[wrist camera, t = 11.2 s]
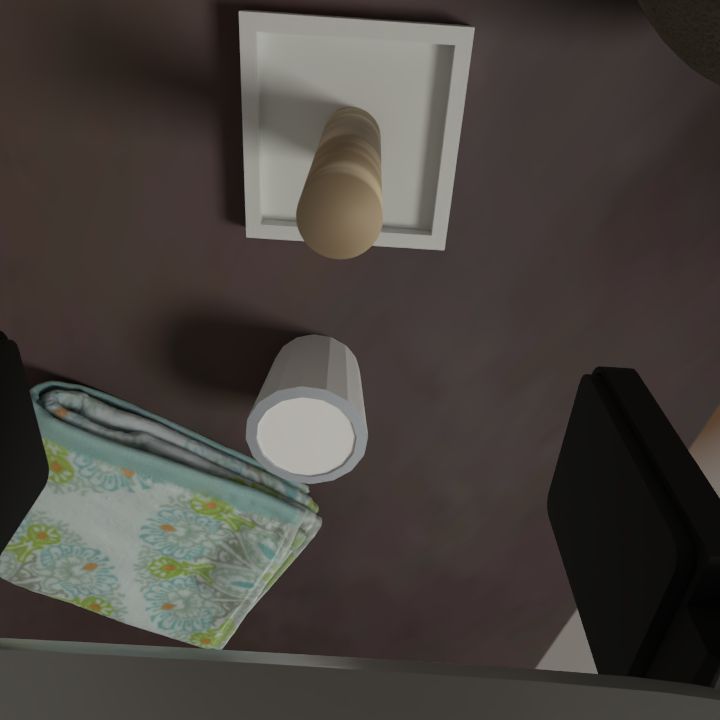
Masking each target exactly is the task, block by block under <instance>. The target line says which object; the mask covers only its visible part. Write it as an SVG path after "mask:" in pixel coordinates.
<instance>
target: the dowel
mask: <svg viewBox="0 0 720 720" xmlns="http://www.w3.org/2000/svg"><path fill="white" fill-rule="evenodd" d="M296 222H297V227H298V230H299V233H300V235H301V237H302V238H303V240H304V241H305V243H306V244H307V245H308V246H309V247H310V248H311V249H312V250H314V251H315V252H317V253H319V254H320V255H323V256H325V257H328V258H332V259H349V258H353V257H356V256H358V255H360V254H362V253H364V252H365V251H367V250H368V249H369V248H370V247H371V246H372V245H373V244H374V242H375V241H376V240H377V238H378V236H379V234H380V231H381V228H382V222H383V211H382V174H381V136H380V130H379V126H378V124H377V122H376V120H375V119H374V118H373V117H372V116H371V115H370V114H369V113H368V112H366V111H365V110H363V109H360V108H356V107H347V108H343V109H340V110H338V111H337V112H335V113H334V114H333V115H332V116H331V117H330V118H329V119H328V121H327V123H326V125H325V127H324V130H323V133H322V136H321V139H320V142H319V145H318V147H317V150H316V153H315V156H314V159H313V162H312V165H311V168H310V171H309V173H308V176H307V179H306V182H305V185H304V188H303V191H302V194H301V196H300V199H299V202H298V205H297V210H296Z"/></svg>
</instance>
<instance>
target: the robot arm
mask: <svg viewBox="0 0 720 720" xmlns="http://www.w3.org/2000/svg"><path fill="white" fill-rule="evenodd" d="M48 476H49V464H48V460H47V456H46V452H45V449H44V445H43V441H42V437H41V433H40V429H39V426H38V422H37V418H36V414H35V410H34V406H33V402H32V399H31V395H30V391H29V387H28V383H27V379H26V376H25V372H24V368H23V364H22V360H21V356H20V353H19V349H18V346H17V344H16V343H15V342H14V341H13V340H8V338H7V336H6V335H5V334H4V333H3V332H2V331H0V555H1V554H2V552H3V551H4V549H5V548H6V546H7V544H8V543H9V541H10V540H11V538H12V537H13V535H14V534H15V532H16V531H17V529H18V528H19V526H20V524H21V523H22V521H23V520H24V518H25V517H26V515H27V514H28V512H29V511H30V509H31V508H32V506H33V505H34V503H35V501H36V500H37V498H38V497H39V495H40V494H41V492H42V491H43V489H44V488H45V486H46V484H47V480H48ZM547 509H548V516H549V519H550V522H551V526H552V529H553V532H554V535H555V538H556V541H557V545H558V548H559V551H560V554H561V557H562V560H563V564H564V567H565V570H566V573H567V576H568V579H569V583H570V586H571V589H572V592H573V595H574V599H575V602H576V605H577V608H578V611H579V614H580V618H581V621H582V624H583V627H584V630H585V633H586V637H587V640H588V643H589V646H590V649H591V652H592V655H593V659H594V662H595V665H596V668H597V671H598V674H589V673H577V672H564V671H552V670H539V669H526V668H514V667H497V666H481V665H465V664H449V663H433V662H417V661H401V660H384V659H368V658H352V657H336V656H319V655H302V654H284V653H267V652H249V651H232V650H214V649H196V648H178V647H160V646H142V645H124V644H106V643H87V642H67V641H48V640H28V639H9V638H0V720H720V498H719V497H718V495H717V494H716V492H715V491H714V489H713V488H712V486H711V485H710V483H709V482H708V480H707V478H706V477H705V475H704V474H703V472H702V471H701V469H700V468H699V466H698V465H697V463H696V461H695V460H694V458H693V457H692V456H691V454H690V453H689V451H688V450H687V448H686V446H685V445H684V443H683V442H682V440H681V439H680V437H679V436H678V434H677V433H676V431H675V430H674V428H673V427H672V425H671V423H670V422H669V420H668V419H667V417H666V416H665V414H664V413H663V411H662V410H661V408H660V407H659V405H658V404H657V402H656V401H655V399H654V397H653V396H652V394H651V393H650V391H649V390H648V388H647V387H646V385H645V384H644V382H643V381H642V379H641V378H640V376H639V374H638V373H637V372H636V371H635V370H634V369H631V368H616V367H600V366H598V367H597V368H595V370H594V371H593V373H592V375H589V374H585V375H583V377H582V378H581V381H580V384H579V387H578V391H577V394H576V398H575V401H574V405H573V408H572V412H571V415H570V419H569V423H568V426H567V430H566V433H565V437H564V440H563V444H562V447H561V451H560V454H559V458H558V462H557V465H556V469H555V472H554V476H553V479H552V483H551V486H550V490H549V494H548V500H547Z"/></svg>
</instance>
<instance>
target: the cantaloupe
mask: <svg viewBox="0 0 720 720" xmlns="http://www.w3.org/2000/svg"><path fill="white" fill-rule="evenodd" d="M637 1H638V3H639V5H640V7H641V9H642V11H643V12H644V14H645V15H646V17H647V18H648V20H649V21H650V23H651V24H652V26H653V27H654V29H655V30H656V32H657V33H658V35H659V36H660V37H661V38H662V40H663V41H664V42H665V43H666V44H667V45H668V46H669V47H670V48H671V49H672V50H673V51H674V52H675V53H676V54H677V55H678V57H679V58H680V59H681V60H682V61H684V62H685V63H686V64H687V65H688V66H689V67H691V68H692V69H693V70H694V71H696V72H697V73H699V74H701V75H702V76H704V77H705V78H707V79H709V80H711V81H713V82H715V83H717V84H718V85H720V0H637Z"/></svg>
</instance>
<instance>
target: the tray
mask: <svg viewBox="0 0 720 720" xmlns="http://www.w3.org/2000/svg"><path fill="white" fill-rule="evenodd" d="M474 30H475V27H473V26H471V25H457V24H443V23H428V22H414V21H400V20H385V19H371V18H357V17H342V16H328V15H314V14H299V13H285V12H271V11H256V10H241V11H239V37H240V66H241V96H242V125H243V155H244V185H245V214H246V237H248V238H263V239H278V240H293V241H304V240H303V238H302V237H301V235H300V233H299V230H298V227H297V222H296V210H297V205H298V202H299V199H300V196H301V194H302V191H303V188H304V185H305V182H306V179H307V176H308V173H309V171H310V168H311V165H312V162H313V159H314V156H315V153H316V150H317V147H318V145H319V142H320V139H321V136H322V133H323V130H324V127H325V125H326V123H327V121H328V119H329V118H330V117H331V116H332V115H333V114H334V113H335V112H337V111H338V110H340V109H343V108H347V107H356V108H360V109H363V110H365V111H366V112H368V113H369V114H370V115H371V116H372V117H373V118H374V119H375V120H376V122H377V124H378V126H379V130H380V136H381V174H382V211H383V222H382V228H381V231H380V234H379V236H378V238H377V240H376V241H375V242H374V244H373V245H372V246H385V247H400V248H416V249H431V250H444V249H445V242H446V235H447V227H448V220H449V213H450V205H451V198H452V191H453V184H454V176H455V169H456V162H457V154H458V147H459V140H460V132H461V125H462V118H463V110H464V103H465V96H466V88H467V81H468V74H469V66H470V59H471V52H472V44H473V37H474Z"/></svg>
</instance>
